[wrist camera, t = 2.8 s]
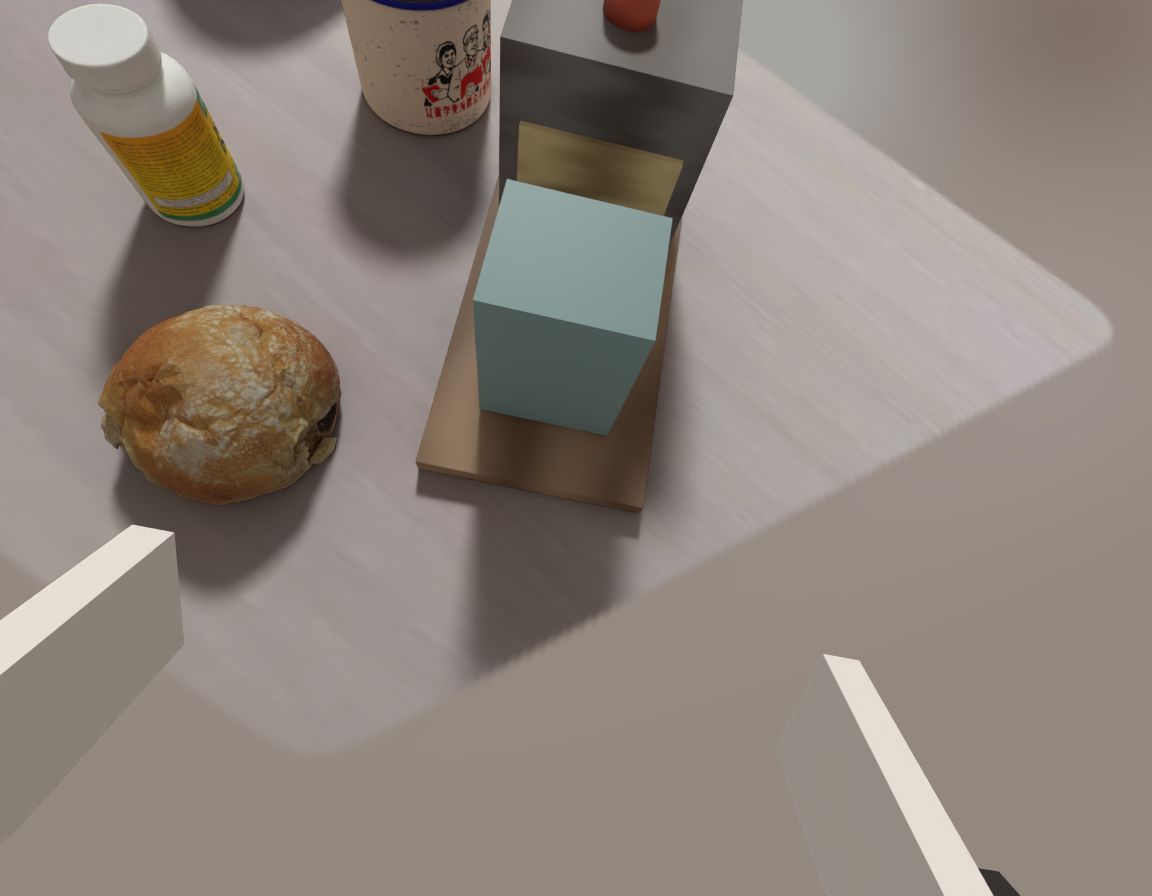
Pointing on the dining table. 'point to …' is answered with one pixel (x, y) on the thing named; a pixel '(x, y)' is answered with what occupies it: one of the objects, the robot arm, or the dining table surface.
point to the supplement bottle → (146, 114)
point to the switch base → (601, 172)
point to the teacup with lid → (423, 60)
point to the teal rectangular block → (566, 306)
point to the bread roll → (223, 403)
